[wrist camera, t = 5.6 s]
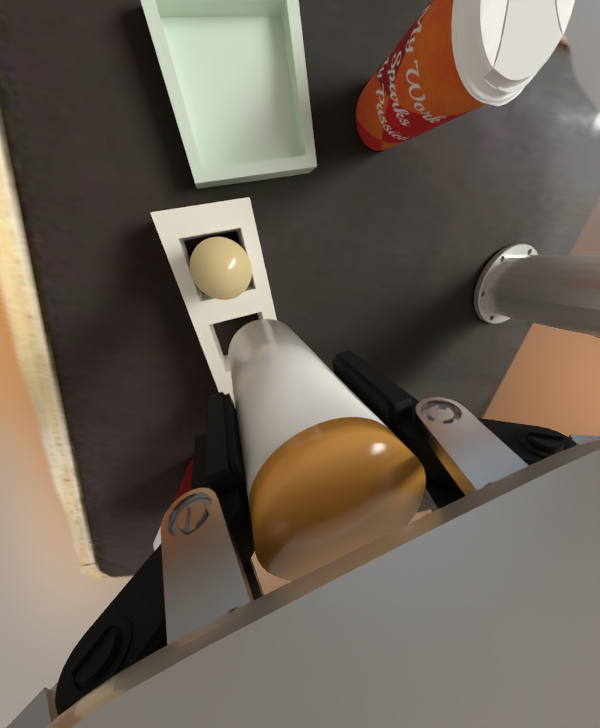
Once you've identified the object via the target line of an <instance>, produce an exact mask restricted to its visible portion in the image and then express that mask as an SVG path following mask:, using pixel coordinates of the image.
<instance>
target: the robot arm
mask: <svg viewBox="0 0 600 728" xmlns="http://www.w3.org/2000/svg"><path fill="white" fill-rule="evenodd" d="M474 307H475V311H476V313H477V315H478V316H479V318H480V319H482V320H483V321H486V322H489V323H494V324H495V323H501V322H504V321H506V320H508V319H510V318H514V319H518V320H523V321H527V322H532V323H536V324H541V325H545V326H550V327H554V328H558V329H563V330H568V331H572V332H576V333H581V334H585V335H590V336H594V337H599V338H600V256H585V255H582V256H581V255H580V256H579V255H538V254H537V252H536V250H535V249H534V248H533V247H532V246H530V245H528V244H513V245H509V246H507V247H505V248H503V249H502V250H501V251H499V252H498V253H497V254H496V255H495V256H494V257H493V258H492V259H491V260H490V261H489V262H488V264H487V265H486V266H485V268H484V269H483V271H482V273H481V275H480V277H479V279H478V282H477V285H476V288H475V293H474ZM333 368H334V374H335V375H336V376H337V377H338V378H339V379H340V380H341V381H342V382H343V383H344V384H345V385H346V386H347V387H348V388H349V389H350V390H351V391H352V392H353V393H354V394H355V395H356V396H357V397H358V398H359V399H360V400H361V401H362V402H363V403H364V404H365V405H366V406H367V407H368V408H369V409H370V410H371V411H372V412H373V413H374V414H375V415H376V416H377V417H378V418H379V419H380V420H381V421H382V422H383V423H384V424H385V425H386V426H387V427H388V428H389V429H390V430H391V431H392V432H393V433H394V434H395V435H396V436H397V437H398V438H399V440H400V441H401V442H402V443H403V444H404V445H405V446H406V447H407V448H408V449H409V450H410V451H411V452H412V453H413V454H414V455H415V456H416V457H417V458H418V459H419V461H420V462H421V463H422V466H423V468H424V471H425V475H426V486H425V492H424V495H423V496H424V498H425V500H426V502H427V503H428V505H429V507H430V509H431V510H432V513H430V514H428V515H426V516H424V517H422V518H420V519H418V520H416V521H413V522H411V523H409V524H407V525H405V526H403V527H401V528H399V529H397V530H395V531H393V532H391V533H389V534H387V535H385V536H383V537H381V538H379V539H377V540H375V541H373V542H371V543H369V544H367V545H365V546H363V547H361V548H359V549H357V550H355V551H353V552H350V553H348V554H346V555H344V556H342V557H340V558H338V559H336V560H334V561H332V562H330V563H328V564H326V565H324V566H322V567H320V568H318V569H316V570H314V571H312V572H310V573H308V574H306V575H304V576H302V577H300V578H298V579H296V580H294V581H292V582H290V583H288V584H286V585H284V586H282V587H280V588H278V589H276V590H274V591H272V592H270V593H268V594H266V595H264V593H263V590H262V587H261V584H260V582H259V579H258V576H257V573H256V571H255V568H254V565H253V563H252V560H251V557H252V555H253V553H254V551H255V546H254V539H253V532H252V524H251V517H250V510H249V503H248V495H247V486H246V479H245V472H244V465H243V458H242V450H241V443H240V436H239V429H238V422H237V414H236V409H235V406H234V403H233V401H232V398H231V396H230V394H229V393H228V394H224V393H223V392H220V393H217V394H214V395H211V396H209V397H208V420H207V432H204V433H201V434H199V435H197V436H196V438H195V447H194V457H193V468H192V478H191V488H190V491H189V492H187V493H185V494H184V495H182V496H181V497H179V498H178V499H177V500H176V501H175V502H174V503H173V504H172V505H171V506H170V508H169V509H168V510H167V512H166V513H165V515H164V518H163V520H162V523H161V544H160V545H159V546H158V548H157V549H156V550H155V551H154V552H153V554H152V555H151V556H150V557H149V558H148V560H147V561H146V562H145V563H144V564H143V565H142V567H141V568H140V569H139V570H138V571H137V573H136V574H135V575H134V576H133V577H132V579H131V580H130V581H129V582H128V583H127V584H126V586H125V587H124V588H123V589H122V590H121V592H120V593H119V594H118V595H117V597H116V598H115V599H114V600H113V601H112V602H111V603H110V605H109V606H108V607H107V608H106V609H105V611H104V612H103V613H102V614H101V615H100V617H99V618H98V619H97V620H96V621H95V622H94V624H93V625H92V626H91V627H90V628H89V630H88V631H87V632H86V633H85V634H84V636H83V637H82V638H81V640H80V641H79V642H78V644H77V645H76V647H75V648H74V649H73V651H72V653H71V654H70V656H69V658H68V660H67V662H66V664H65V665H64V667H63V670H62V673H61V675H60V678H59V681H58V682H57V683H56V684H55V686H54V687H53V688H52V689H51V690H49V689H47V688H44V689H43V690H42V691H41V692H40V693H39V694H38V695H37V696H36V697H35V698H34V699H33V700H32V701H31V702H30V703H29V704H28V705H27V707H26V708H25V709H24V710H23V711H22V712H21V713H20V714H19V715H18V716H17V717H16V718H15V719H14V720H13V721H12V722H11V723H10V724H9V725H8V726H7V727H6V728H600V436H586V435H569V437H567V436H565V435H563V434H561V433H559V432H557V431H554V430H551V429H548V428H543V427H539V426H532V425H524V424H517V423H510V422H502V421H495V420H488V419H481V418H476V417H475V416H473V415H472V414H471V413H470V412H469V411H468V410H467V409H466V408H465V407H464V406H462V405H461V404H459V403H458V402H455V401H453V400H450V399H446V398H438V397H434V398H427V399H424V400H422V401H420V402H419V401H418V400H416V399H415V398H414V397H412V396H411V395H410V394H408V393H407V392H406V391H404V390H403V389H401V388H400V387H399V386H397V385H396V384H395V383H393V382H392V381H391V380H389V379H388V378H386V377H385V376H384V375H382V374H381V373H379V372H378V371H376V370H375V369H374V368H372V367H371V366H370V365H368V364H367V363H366V362H364V361H363V360H362V359H360V358H359V357H357V356H356V355H355V354H353V353H352V352H351V351H346V352H343V353H339V354H337V355H336V358H335V359H333Z"/></svg>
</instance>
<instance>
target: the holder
mask: <svg viewBox="0 0 600 728" xmlns="http://www.w3.org/2000/svg"><path fill="white" fill-rule="evenodd" d="M151 216H152V218H153V221H154V224H155V226H156V229H157V232H158V234H159V237H160V239H161V242H162V245H163V247H164V250H165V252H166V255H167V258H168V260H169V263H170V266H171V268H172V271H173V273H174V276H175V279H176V281H177V284H178V286H179V289H180V292H181V294H182V297H183V300H184V302H185V305H186V307H187V310H188V313H189V315H190V318H191V320H192V323H193V326H194V328H195V331H196V334H197V336H198V339H199V341H200V344H201V347H202V349H203V352H204V354H205V357H206V360H207V362H208V365H209V367H210V370H211V373H212V375H213V378H214V381H215V383H216V386H217V388H218V391H219V393H220V392H223V393H224V394H228V393H229V394H230V396H231V398H232V401H233V403H234V406H235V401H234V394H233V386H232V379H231V372H230V365H229V357H228V355H225V356H223V353H222V350H221V347H220V344H219V341H218V338H217V336H216V333H215V330H214V327H213V324H214V323H218V322H222V321H226V320H230V319H234V318H238V317H242V316H246V315H250V314H254V313H257V314H258V318H259V319H272V320H276V321H277V319H276V315H275V310H274V305H273V301H272V296H271V292H270V287H269V283H268V278H267V274H266V269H265V265H264V260H263V256H262V251H261V247H260V242H259V238H258V233H257V229H256V224H255V220H254V215H253V211H252V206H251V201H250V197H247V198H241V199H234V200H228V201H221V202H215V203H209V204H202V205H196V206H189V207H183V208H176V209H170V210H163V211H157V212H151ZM235 231H237V235H238V239H239V243H240V246H241V247H242V248H243V249H244V251H245V252H246V254H247V255H248V257H249V259H250V263H251V267H252V276H251V280H250V283H249V285H248V287H247V289H246V290H245V291H244V292H243V293H242V294H241V295H239V296H238V297H236V298H233V299H229V300H219V299H215V298H212V297H210V296H208V295H206V294H202V292H201V290H200V289H199V288H198V287H197V285H196V284H195V282H194V280H193V278H192V275H191V272H190V257H189V254H188V251H187V249H186V246H185V243H184V241H185V240H191V239H196V238H202V237H207V236H213V235H218V234H224V233H229V232H235ZM235 409H236V408H235Z"/></svg>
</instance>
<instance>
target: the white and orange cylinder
mask: <svg viewBox="0 0 600 728" xmlns="http://www.w3.org/2000/svg"><path fill="white" fill-rule="evenodd" d="M228 357H229V365H230V372H231V379H232V386H233V394H234V401H235V408H236V414H237V422H238V429H239V436H240V443H241V450H242V458H243V465H244V472H245V479H246V486H247V495H248V503H249V510H250V517H251V524H252V532H253V539H254V546H255V554H256V556H257V559H258V561H259V562H260V564H261V566H262V567H263V568H264V569H265V570H266V571H267V572H269V573H271V574H272V575H274V576H276V577H279V578H283V579H287V580H296V579H298V578H300V577H302V576H304V575H306V574H308V573H310V572H312V571H314V570H316V569H318V568H320V567H322V566H324V565H326V564H328V563H330V562H332V561H334V560H336V559H338V558H340V557H342V556H344V555H346V554H348V553H350V552H353V551H355V550H357V549H359V548H361V547H363V546H365V545H367V544H369V543H371V542H373V541H375V540H377V539H379V538H381V537H383V536H385V535H387V534H389V533H391V532H393V531H395V530H397V529H399V528H401V527H403V526H405V525H407V524H408V523H409V522H410V521H411V519H412V518H413V516H414V515H415V513H416V511H417V510H418V508H419V506H420V503H421V501H422V499H423V495H424V492H425V486H426V475H425V471H424V468H423V466H422V463H421V462H420V461H419V459H418V458H417V457H416V456H415V455H414V454H413V453H412V452H411V451H410V450H409V449H408V448H407V447H406V446H405V445H404V444H403V443H402V442H401V441H400V440H399V438H398V437H397V436H396V435H395V434H394V433H393V432H392V431H391V430H390V429H389V428H388V427H387V426H386V425H385V424H384V423H383V422H382V421H381V420H380V419H379V418H378V417H377V416H376V415H375V414H374V413H373V412H372V411H371V410H370V409H369V408H368V407H367V406H366V405H365V404H364V403H363V402H362V401H361V400H360V399H359V398H358V397H357V396H356V395H355V394H354V393H353V392H352V391H351V390H350V389H349V388H348V387H347V386H346V385H345V384H344V383H343V382H342V381H341V380H340V379H339V378H338V377H337V376H336V375H335V374H334V373H333V371H332V370H331V369H330V368H329V367H328V366H327V365H326V364H325V363H324V362H323V361H322V360H321V359H320V358H319V357H318V356H317V355H316V354H315V353H314V352H313V351H312V350H311V349H310V348H309V347H308V346H307V345H306V344H305V343H304V342H303V341H302V340H301V339H300V338H299V337H298V336H297V335H296V334H295V333H294V332H293V331H292V330H291V329H290V328H289V327H288V326H287V325H285V324H284V323H282V322H279V321H276V320H272V319H259V320H255V321H252V322H250V323H248V324H246V325H244V326H243V327H242V328H241V329H239V330H238V331H237V333H236V334H235V335H234V337H233V338H232V340H231V343H230V346H229V351H228Z"/></svg>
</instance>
